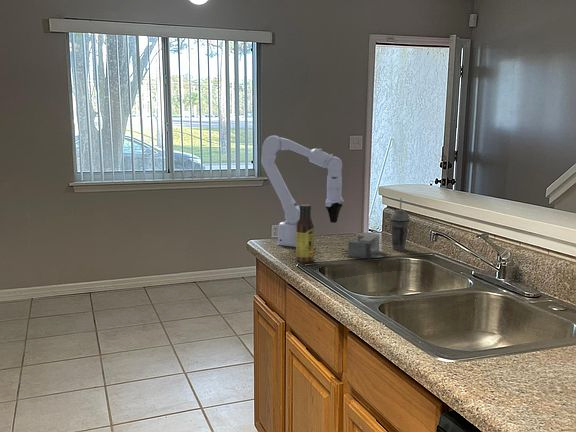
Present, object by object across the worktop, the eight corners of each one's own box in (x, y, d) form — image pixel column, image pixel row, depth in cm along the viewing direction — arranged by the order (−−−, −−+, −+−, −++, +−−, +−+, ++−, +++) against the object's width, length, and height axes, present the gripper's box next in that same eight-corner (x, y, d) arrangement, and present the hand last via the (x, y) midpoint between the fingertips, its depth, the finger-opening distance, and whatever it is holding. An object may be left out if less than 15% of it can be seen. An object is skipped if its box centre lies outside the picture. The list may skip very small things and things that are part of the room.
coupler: (348, 256, 203) (348, 239, 202) (358, 249, 215) (359, 232, 214) (369, 258, 200) (370, 241, 199) (379, 251, 212) (379, 234, 211)
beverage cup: (407, 247, 219) (409, 196, 215) (409, 251, 211) (411, 199, 208) (388, 246, 219) (390, 196, 216) (389, 251, 212) (391, 199, 209)
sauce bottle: (311, 263, 193) (312, 206, 190) (294, 262, 195) (294, 206, 191) (314, 258, 200) (315, 204, 196) (297, 258, 201) (298, 203, 197)
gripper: (337, 190, 209) (337, 226, 211) (349, 186, 222) (349, 220, 224) (320, 189, 212) (319, 224, 214) (333, 185, 225) (332, 218, 227)
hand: (333, 222), depth 219 cm, fingers closed
